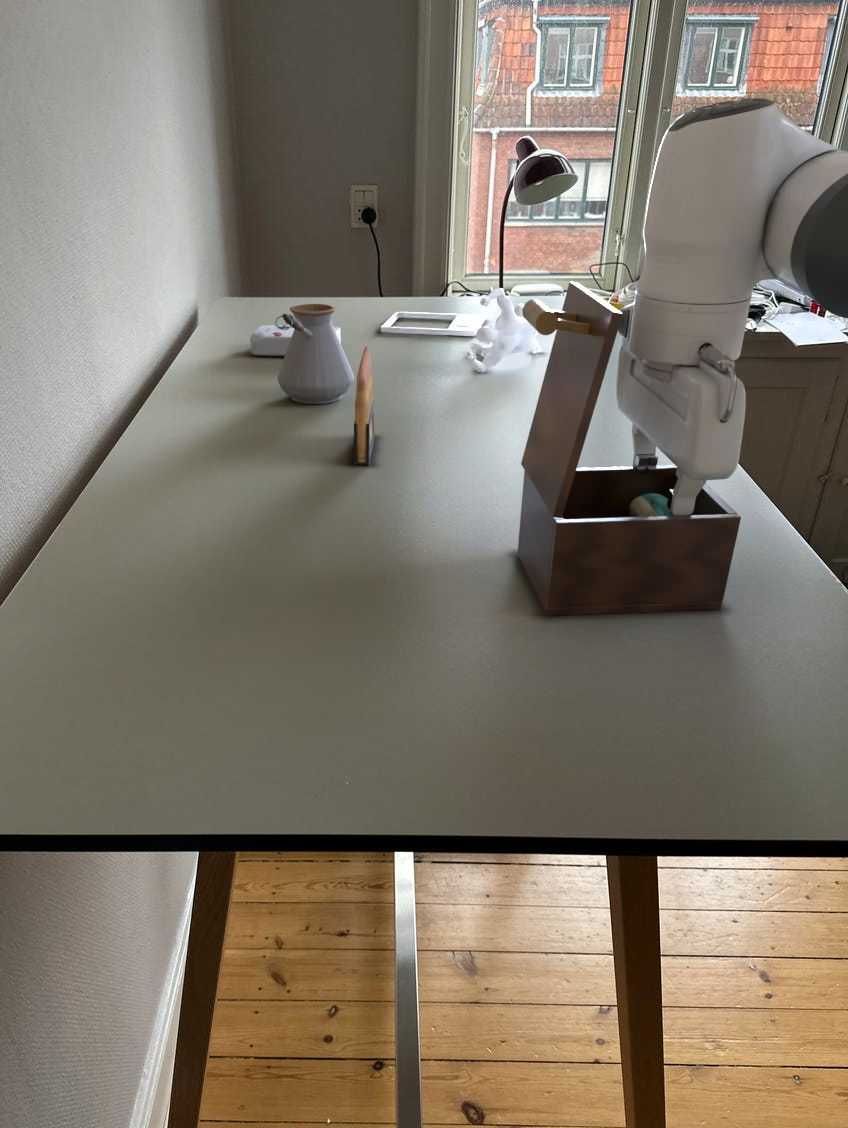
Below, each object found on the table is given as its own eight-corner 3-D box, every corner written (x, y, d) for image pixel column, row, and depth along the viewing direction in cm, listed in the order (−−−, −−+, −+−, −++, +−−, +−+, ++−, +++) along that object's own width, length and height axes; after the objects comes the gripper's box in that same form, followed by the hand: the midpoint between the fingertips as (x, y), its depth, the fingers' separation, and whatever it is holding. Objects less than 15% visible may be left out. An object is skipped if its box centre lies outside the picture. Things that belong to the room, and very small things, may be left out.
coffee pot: (290, 384, 144) (285, 283, 136) (361, 388, 142) (360, 286, 134) (248, 426, 126) (239, 313, 118) (329, 431, 124) (326, 316, 116)
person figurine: (483, 284, 158) (484, 283, 141) (555, 303, 157) (565, 304, 141) (462, 361, 162) (462, 369, 146) (532, 379, 162) (539, 389, 145)
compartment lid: (578, 283, 78) (519, 272, 77) (623, 313, 67) (555, 301, 66) (528, 465, 86) (475, 457, 85) (561, 518, 75) (501, 510, 75)
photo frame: (475, 330, 170) (380, 325, 174) (474, 336, 171) (380, 331, 175) (485, 314, 183) (396, 310, 186) (484, 320, 183) (396, 316, 187)
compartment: (671, 548, 92) (686, 464, 87) (721, 609, 81) (741, 517, 76) (517, 554, 91) (524, 469, 86) (546, 616, 80) (556, 523, 75)
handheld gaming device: (261, 345, 167) (259, 323, 165) (341, 347, 165) (340, 325, 163) (249, 358, 159) (247, 335, 157) (332, 360, 157) (331, 337, 155)
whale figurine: (622, 523, 90) (657, 505, 90) (662, 581, 87) (698, 563, 87) (624, 491, 85) (662, 473, 85) (667, 552, 81) (705, 533, 81)
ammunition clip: (369, 465, 113) (368, 366, 106) (354, 465, 113) (352, 366, 107) (374, 437, 122) (373, 344, 116) (360, 437, 122) (359, 344, 116)
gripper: (782, 362, 66) (743, 539, 73) (680, 306, 83) (657, 452, 90) (695, 365, 65) (665, 542, 72) (612, 307, 83) (594, 454, 90)
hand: (660, 491), depth 82 cm, fingers open, 8 cm apart
